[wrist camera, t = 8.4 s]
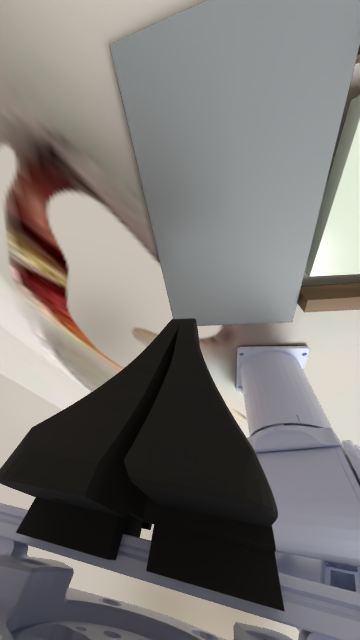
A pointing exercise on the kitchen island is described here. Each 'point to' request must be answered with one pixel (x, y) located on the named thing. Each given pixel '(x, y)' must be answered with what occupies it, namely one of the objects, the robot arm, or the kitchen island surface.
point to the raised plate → (237, 145)
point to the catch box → (330, 290)
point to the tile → (340, 207)
